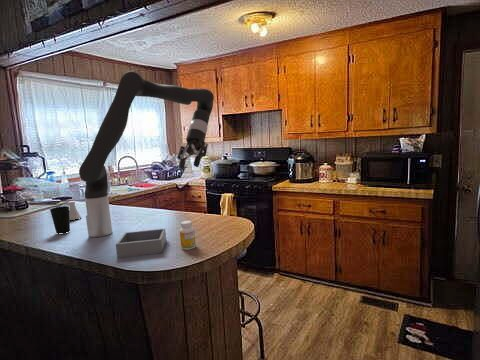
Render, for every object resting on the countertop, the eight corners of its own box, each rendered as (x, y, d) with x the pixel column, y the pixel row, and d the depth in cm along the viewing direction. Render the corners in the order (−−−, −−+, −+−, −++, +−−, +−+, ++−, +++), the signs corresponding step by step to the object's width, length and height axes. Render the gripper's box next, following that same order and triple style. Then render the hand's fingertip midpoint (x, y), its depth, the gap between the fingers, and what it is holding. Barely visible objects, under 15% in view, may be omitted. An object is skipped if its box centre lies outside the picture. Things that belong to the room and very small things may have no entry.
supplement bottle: (181, 245, 114) (178, 221, 112) (195, 243, 115) (193, 219, 113) (181, 250, 108) (179, 224, 107) (196, 248, 110) (194, 223, 108)
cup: (76, 230, 144) (72, 206, 143) (62, 235, 137) (58, 210, 136) (64, 229, 147) (60, 206, 145) (50, 234, 140) (46, 209, 138)
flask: (70, 218, 170) (68, 201, 169) (83, 217, 171) (81, 200, 169) (64, 222, 163) (61, 204, 162) (78, 220, 164) (75, 203, 162)
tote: (117, 257, 106) (115, 244, 105) (126, 244, 119) (124, 232, 118) (162, 252, 108) (161, 239, 107) (166, 240, 121) (165, 228, 120)
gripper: (179, 131, 128) (169, 165, 122) (203, 124, 119) (194, 161, 113) (191, 140, 133) (182, 173, 127) (215, 134, 125) (207, 169, 119)
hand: (188, 167), depth 120 cm, fingers open, 8 cm apart
